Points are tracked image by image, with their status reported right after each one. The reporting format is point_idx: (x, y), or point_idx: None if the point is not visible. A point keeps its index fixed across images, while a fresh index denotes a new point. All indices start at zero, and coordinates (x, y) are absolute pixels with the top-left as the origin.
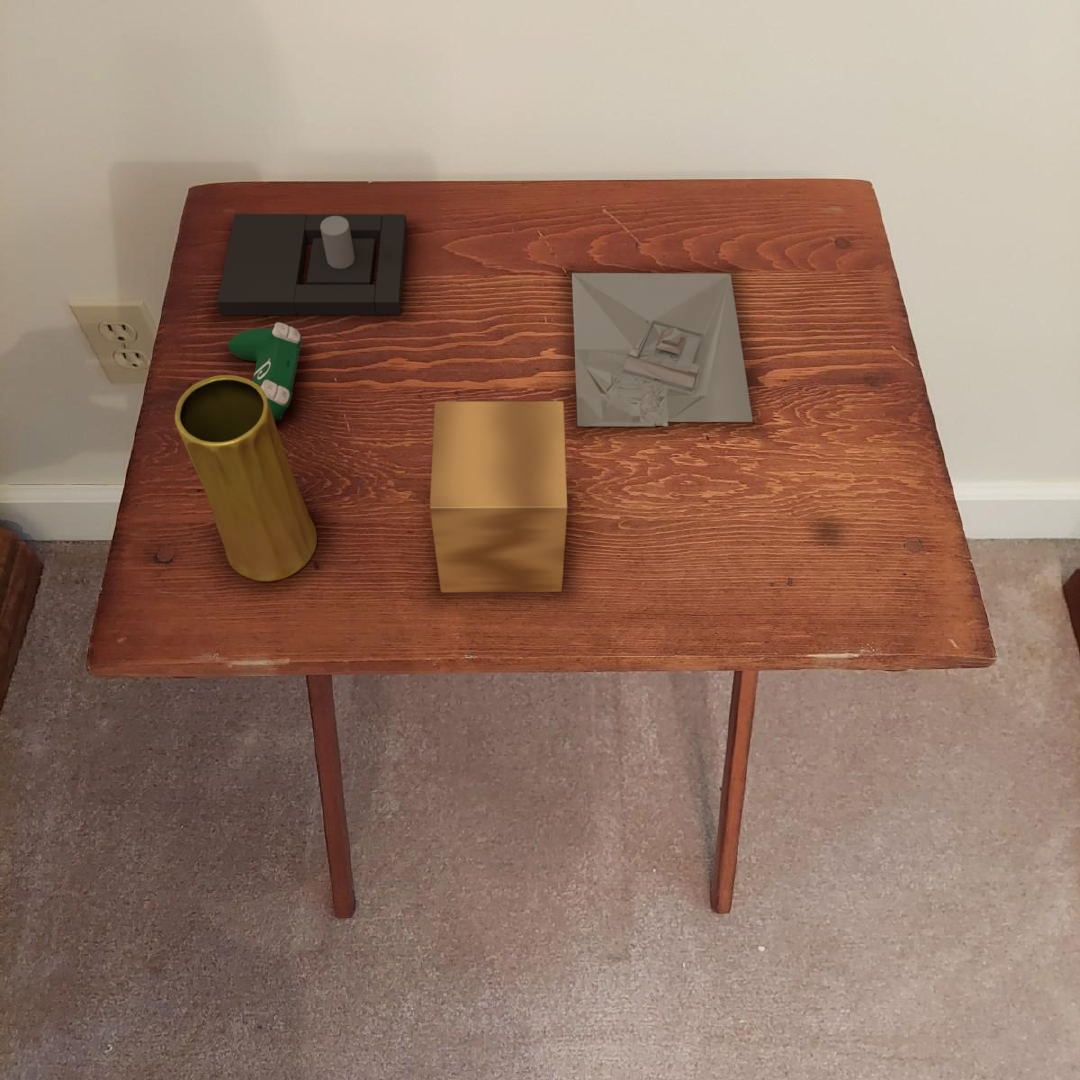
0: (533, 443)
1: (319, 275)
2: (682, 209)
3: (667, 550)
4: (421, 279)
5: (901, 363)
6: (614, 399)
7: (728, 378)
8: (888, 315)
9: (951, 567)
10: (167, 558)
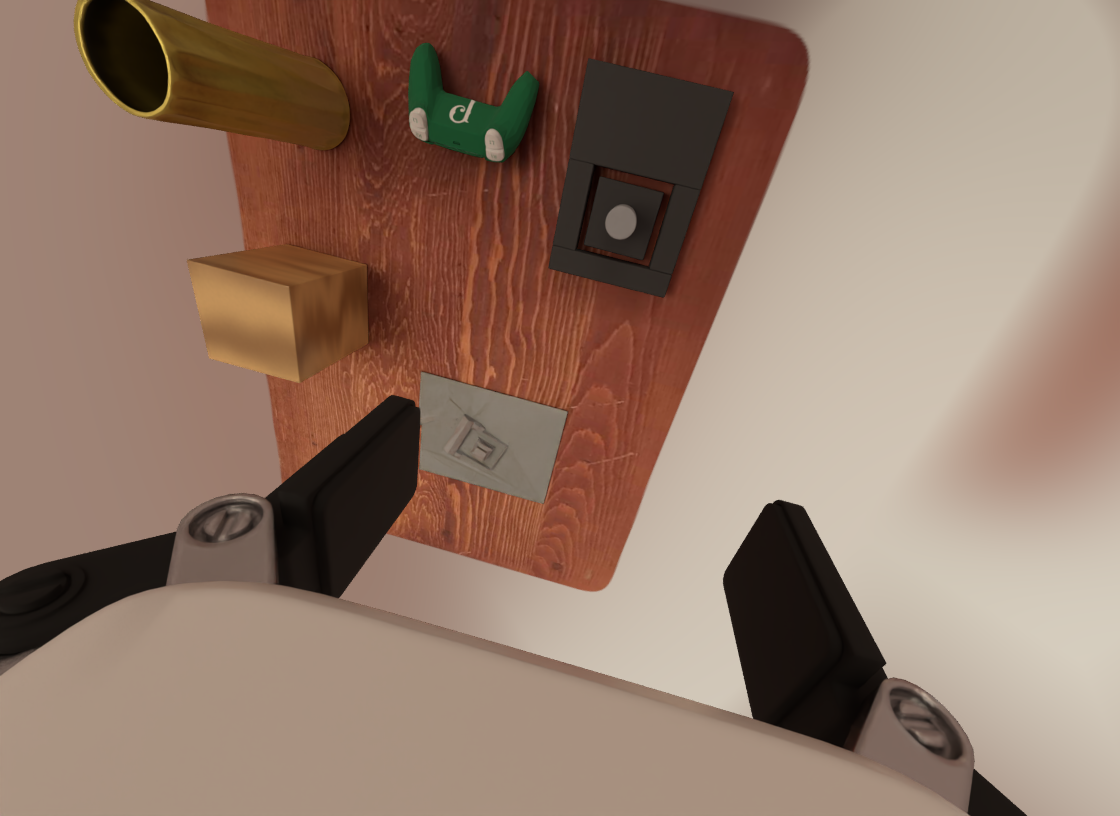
0: (257, 351)
1: (605, 192)
2: (616, 500)
3: (329, 392)
4: (592, 293)
5: (457, 550)
6: (442, 401)
7: (454, 469)
8: (494, 561)
9: None
10: None
